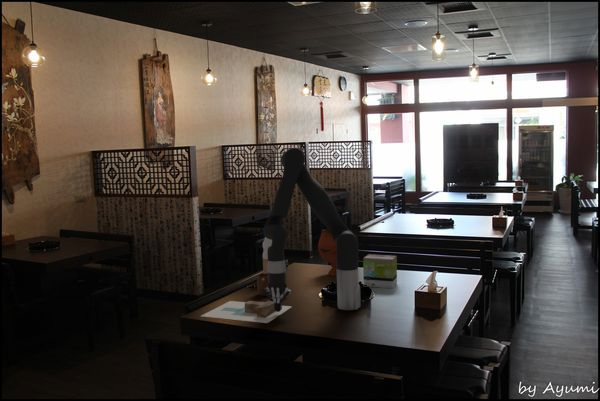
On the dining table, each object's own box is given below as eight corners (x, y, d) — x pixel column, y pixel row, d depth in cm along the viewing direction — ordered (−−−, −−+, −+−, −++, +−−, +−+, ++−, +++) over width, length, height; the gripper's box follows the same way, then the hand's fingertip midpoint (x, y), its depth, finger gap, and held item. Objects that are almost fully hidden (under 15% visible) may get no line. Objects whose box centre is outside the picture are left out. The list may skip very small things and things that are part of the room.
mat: (292, 306, 238) (292, 306, 238) (267, 323, 216) (267, 322, 216) (229, 301, 251) (229, 300, 251) (200, 316, 229) (200, 316, 229)
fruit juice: (265, 282, 285) (262, 230, 283) (262, 278, 294) (260, 227, 292) (282, 280, 287) (280, 228, 285) (279, 277, 296) (277, 226, 294)
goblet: (360, 272, 299) (359, 228, 297) (339, 279, 285) (338, 233, 282) (333, 268, 312) (331, 226, 309) (312, 275, 297) (310, 230, 295)
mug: (270, 298, 253) (270, 279, 252) (254, 298, 253) (254, 279, 252) (274, 292, 265) (273, 273, 264) (259, 292, 265) (258, 273, 264)
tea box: (363, 287, 268) (362, 257, 266) (368, 282, 277) (367, 253, 276) (393, 288, 262) (392, 258, 261) (397, 283, 271) (396, 254, 270)
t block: (278, 309, 234) (277, 300, 233) (265, 317, 223) (265, 308, 223) (253, 307, 239) (253, 298, 238) (240, 315, 228) (239, 305, 227)
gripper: (294, 269, 226) (296, 310, 228) (266, 268, 231) (268, 307, 233) (287, 273, 219) (288, 315, 221) (258, 271, 224) (260, 312, 226)
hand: (278, 311), depth 227 cm, fingers closed
